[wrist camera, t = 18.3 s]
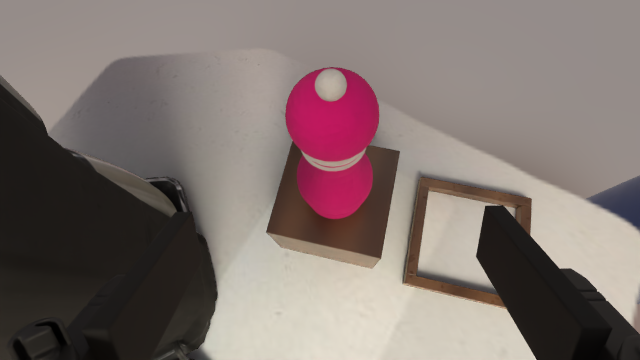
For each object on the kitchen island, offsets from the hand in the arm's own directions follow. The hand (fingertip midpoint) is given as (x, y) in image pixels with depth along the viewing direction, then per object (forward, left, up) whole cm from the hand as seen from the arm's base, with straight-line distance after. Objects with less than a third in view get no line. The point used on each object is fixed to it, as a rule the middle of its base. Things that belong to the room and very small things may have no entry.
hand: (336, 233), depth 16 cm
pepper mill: (+2, -8, -20) cm, 22 cm away
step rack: (-7, -8, -30) cm, 32 cm away
